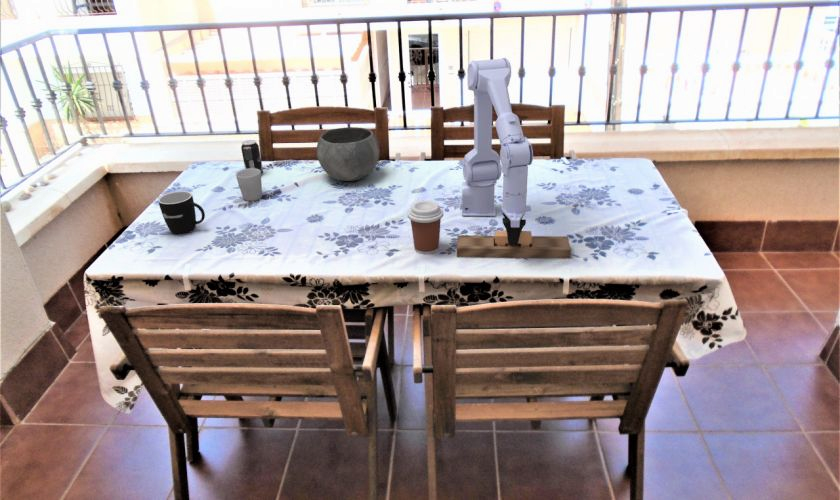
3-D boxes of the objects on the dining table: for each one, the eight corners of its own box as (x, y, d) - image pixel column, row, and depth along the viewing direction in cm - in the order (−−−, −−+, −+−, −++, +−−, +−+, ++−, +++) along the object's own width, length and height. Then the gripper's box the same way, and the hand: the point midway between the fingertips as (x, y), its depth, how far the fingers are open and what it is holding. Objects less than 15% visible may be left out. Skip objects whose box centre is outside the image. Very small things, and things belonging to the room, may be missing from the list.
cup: (236, 202, 186) (231, 177, 182) (248, 190, 195) (243, 165, 191) (260, 202, 185) (255, 177, 181) (270, 190, 194) (266, 165, 190)
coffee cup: (441, 257, 151) (440, 214, 145) (406, 255, 152) (403, 213, 146) (446, 240, 158) (445, 199, 153) (412, 239, 160) (410, 198, 154)
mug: (160, 236, 167) (151, 203, 162) (176, 222, 175) (168, 190, 170) (200, 238, 166) (192, 204, 161) (215, 223, 173) (207, 191, 169)
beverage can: (258, 171, 210) (252, 138, 204) (266, 175, 206) (260, 141, 200) (243, 175, 207) (237, 142, 201) (251, 179, 203) (245, 145, 197)
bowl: (307, 182, 199) (301, 138, 192) (347, 162, 214) (343, 121, 206) (353, 194, 189) (349, 148, 181) (393, 173, 203) (390, 130, 196)
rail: (456, 256, 151) (456, 248, 149) (457, 243, 157) (457, 235, 155) (570, 258, 148) (570, 249, 146) (566, 245, 154) (567, 236, 153)
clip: (494, 253, 151) (495, 236, 149) (494, 248, 154) (495, 230, 152) (530, 254, 150) (531, 236, 148) (530, 248, 153) (531, 231, 151)
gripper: (533, 203, 137) (530, 254, 144) (529, 179, 150) (527, 227, 157) (502, 202, 138) (501, 254, 145) (501, 179, 151) (500, 227, 157)
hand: (512, 240), depth 151 cm, fingers closed on clip, 3 cm apart
